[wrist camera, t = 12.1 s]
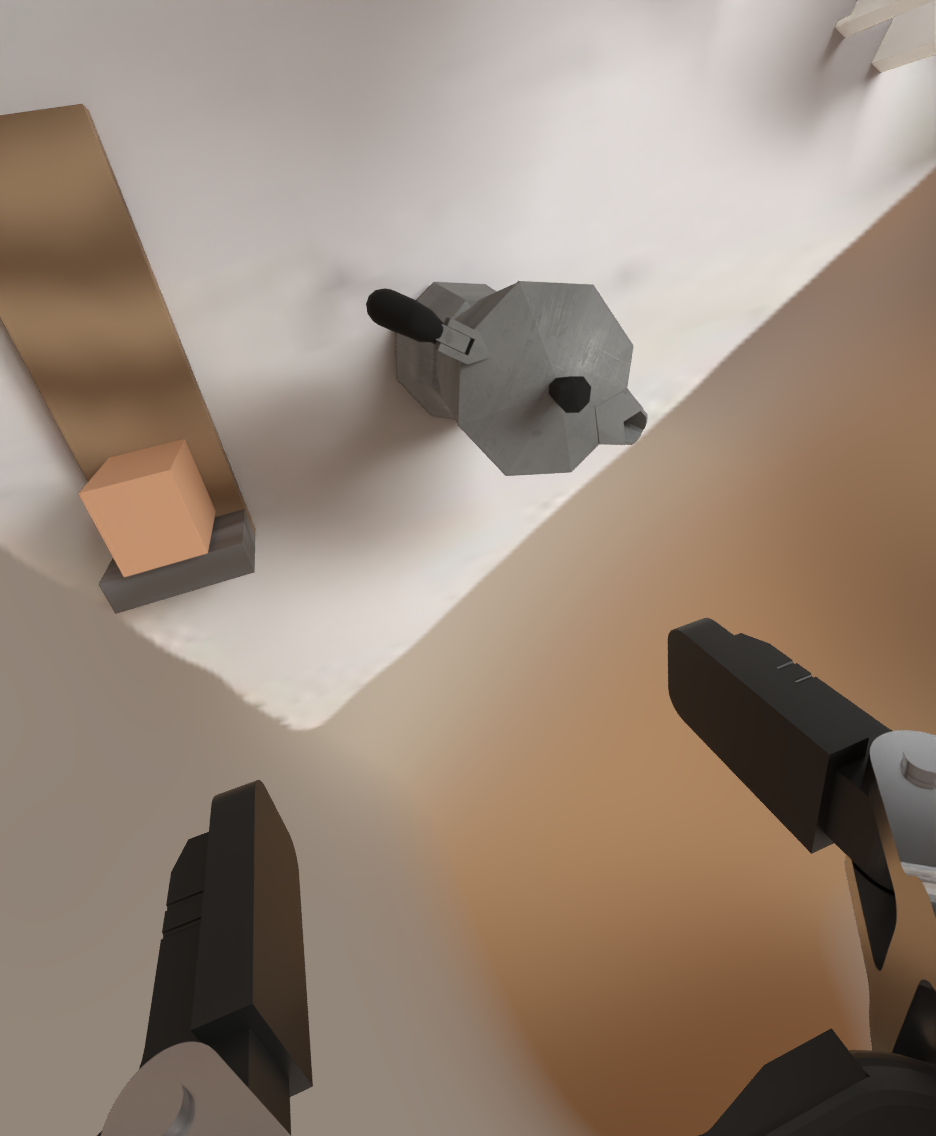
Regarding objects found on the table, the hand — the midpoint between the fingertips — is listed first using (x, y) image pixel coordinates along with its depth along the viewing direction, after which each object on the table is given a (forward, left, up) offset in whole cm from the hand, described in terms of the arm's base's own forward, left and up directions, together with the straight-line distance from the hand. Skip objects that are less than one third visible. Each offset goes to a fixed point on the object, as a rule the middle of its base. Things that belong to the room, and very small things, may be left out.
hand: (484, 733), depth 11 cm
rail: (-5, -11, -33) cm, 35 cm away
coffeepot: (-2, +9, -33) cm, 35 cm away
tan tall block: (+2, -11, -32) cm, 34 cm away
